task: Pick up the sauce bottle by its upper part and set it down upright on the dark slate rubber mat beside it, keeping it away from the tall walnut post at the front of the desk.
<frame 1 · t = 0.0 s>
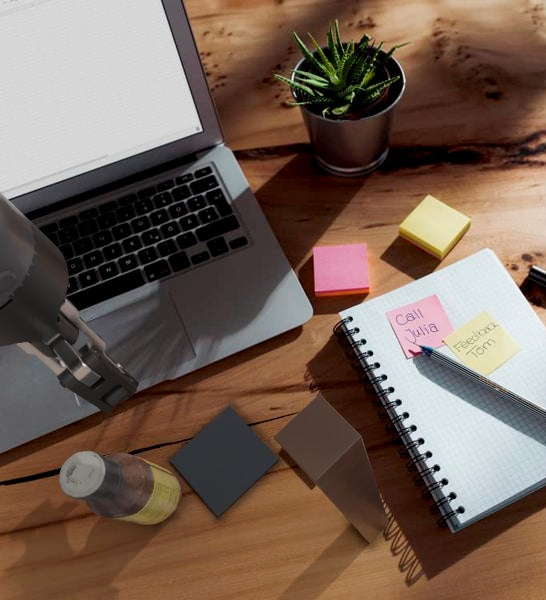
hand: (93, 353, 50), 30 cm above the table, tool pointing down, fingers open, 8 cm apart
sauce bottle: (158, 498, 75), on the table
mat: (225, 460, 77), on the table
walnut post: (370, 523, 74), on the table
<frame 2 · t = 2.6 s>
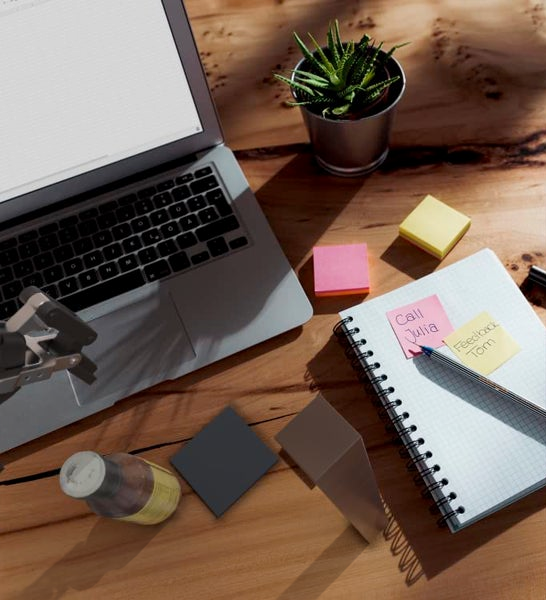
hand: (41, 418, 48), 30 cm above the table, tool pointing down, fingers open, 8 cm apart
nothing on the table moved.
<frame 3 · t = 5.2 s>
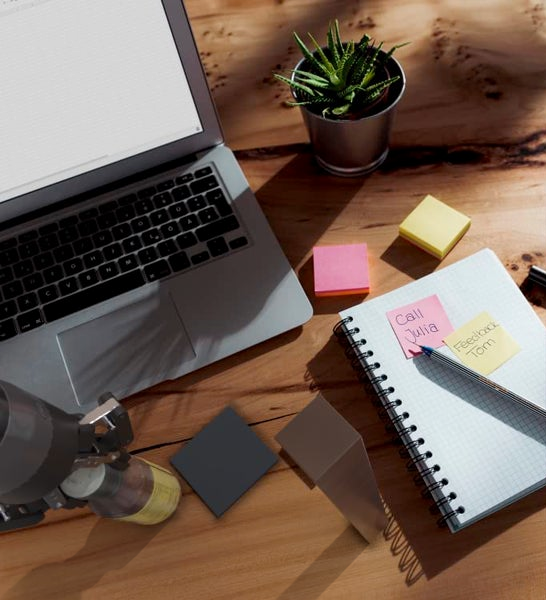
hand: (100, 478, 61), 15 cm above the table, tool pointing down, fingers closed on sauce bottle, 4 cm apart
sauce bottle: (158, 498, 75), on the table, touching gripper
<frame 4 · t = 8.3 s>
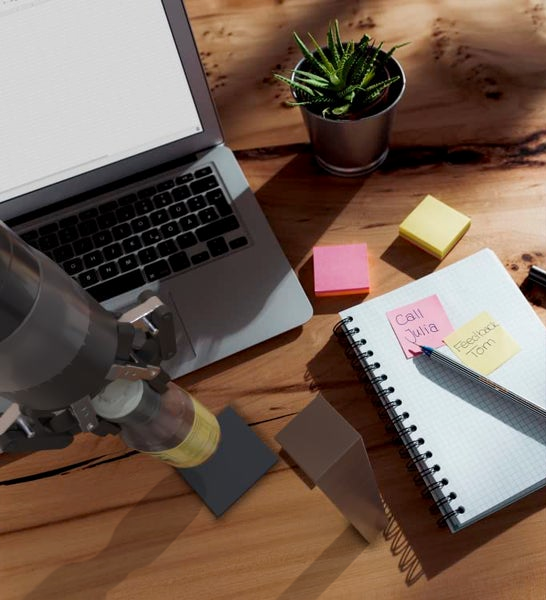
hand: (135, 403, 52), 26 cm above the table, tool pointing down, fingers closed on sauce bottle, 4 cm apart
sauce bottle: (195, 440, 67), point 11 cm above the table, touching gripper
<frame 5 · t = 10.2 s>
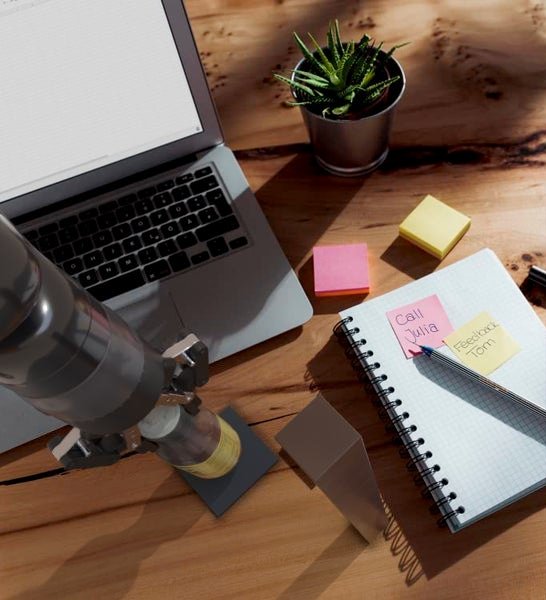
hand: (170, 424, 59), 19 cm above the table, tool pointing down, fingers closed on sauce bottle, 4 cm apart
sauce bottle: (217, 453, 74), point 3 cm above the table, touching gripper
when the fingers open (16 cm above the table, at t = 11.5 s): sauce bottle stays where it is, resting on mat.
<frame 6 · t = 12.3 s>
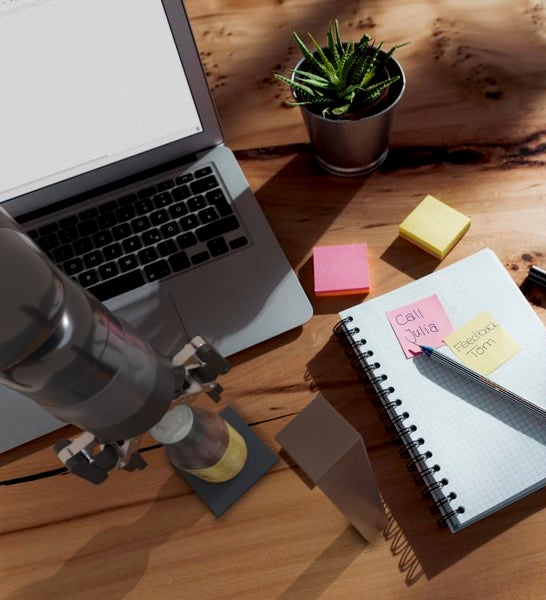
hand: (176, 426, 61), 17 cm above the table, tool pointing down, fingers open, 8 cm apart
sauce bottle: (224, 458, 76), resting on mat
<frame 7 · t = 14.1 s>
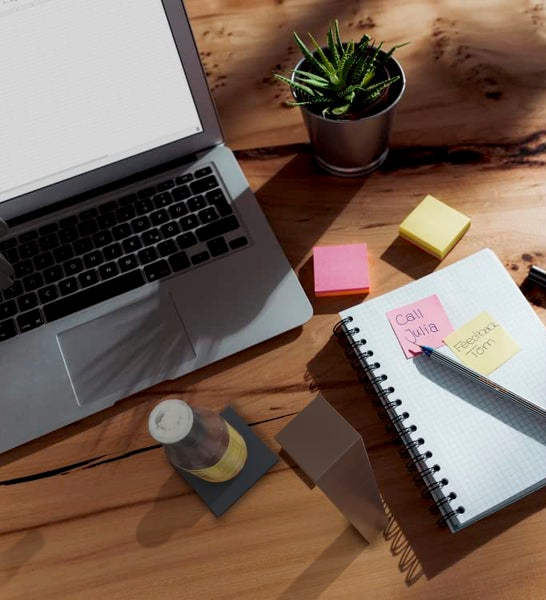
nothing on the table moved.
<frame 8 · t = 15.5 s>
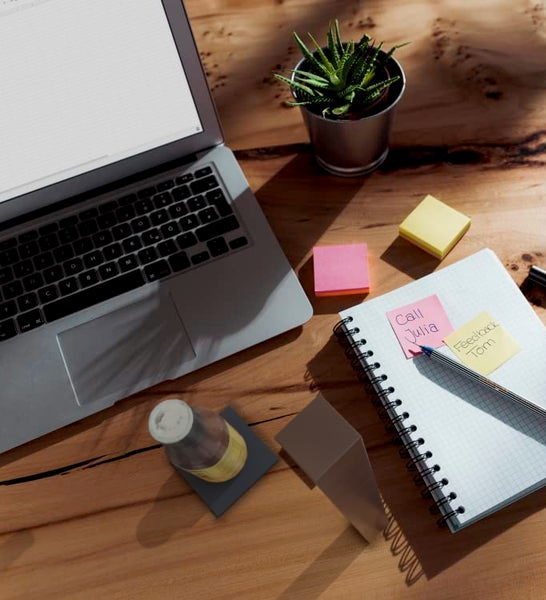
nothing on the table moved.
at the end: sauce bottle 0.1 cm off-centre on the mat, point 0.4 cm above the mat's base; sauce bottle tilted 0°; sauce bottle touching mat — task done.
